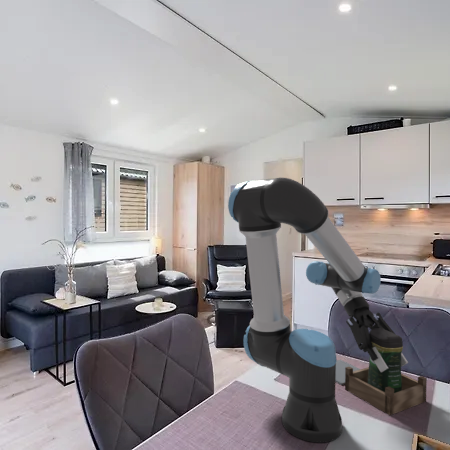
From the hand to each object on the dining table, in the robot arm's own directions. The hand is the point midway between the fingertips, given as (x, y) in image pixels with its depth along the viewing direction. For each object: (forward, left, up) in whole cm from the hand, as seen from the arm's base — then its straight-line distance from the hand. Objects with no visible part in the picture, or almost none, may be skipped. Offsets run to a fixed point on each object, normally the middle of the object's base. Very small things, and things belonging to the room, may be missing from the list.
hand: (394, 367), depth 102 cm
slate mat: (0, +21, -10) cm, 23 cm away
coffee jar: (0, +3, -9) cm, 10 cm away
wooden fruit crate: (0, +3, -10) cm, 10 cm away
